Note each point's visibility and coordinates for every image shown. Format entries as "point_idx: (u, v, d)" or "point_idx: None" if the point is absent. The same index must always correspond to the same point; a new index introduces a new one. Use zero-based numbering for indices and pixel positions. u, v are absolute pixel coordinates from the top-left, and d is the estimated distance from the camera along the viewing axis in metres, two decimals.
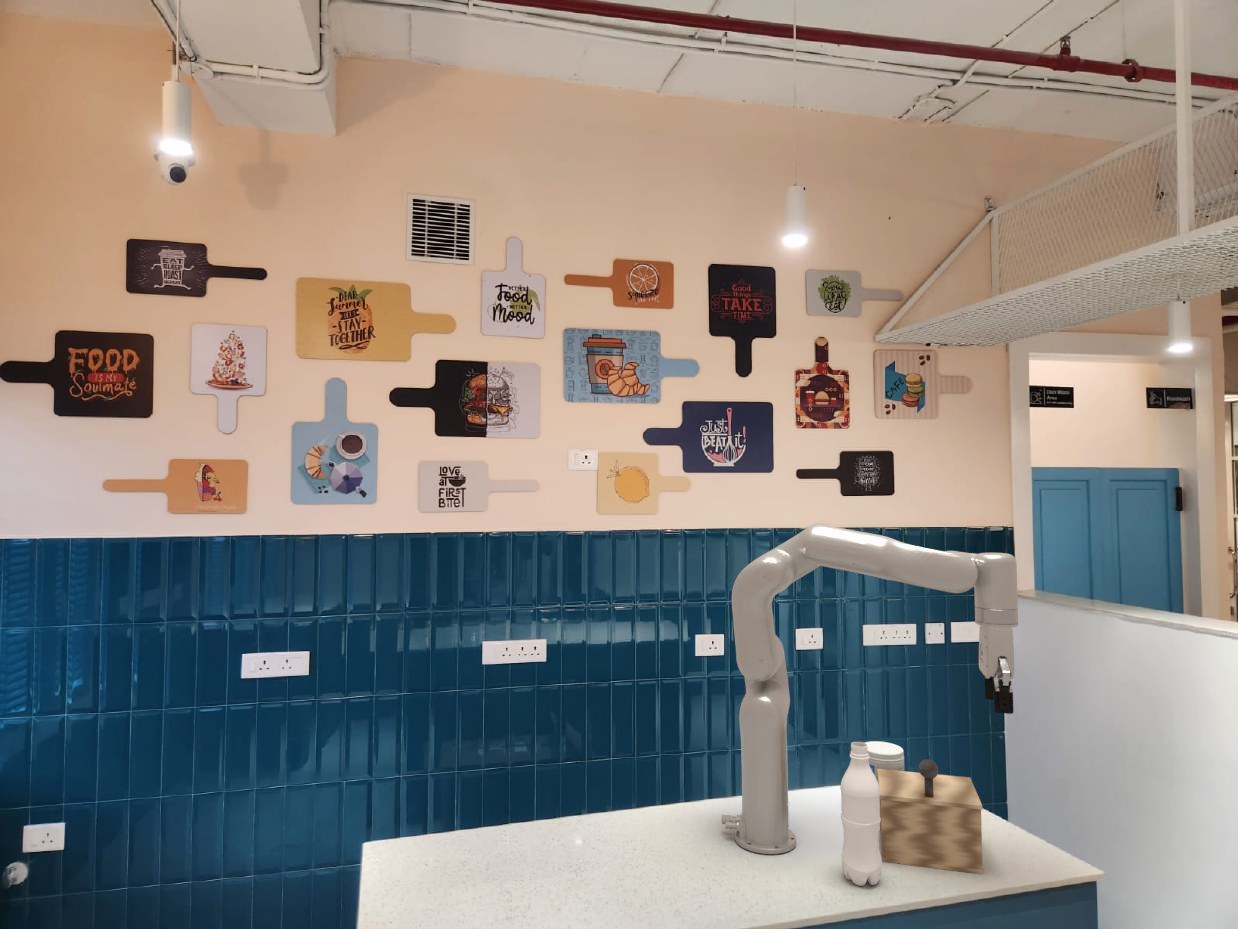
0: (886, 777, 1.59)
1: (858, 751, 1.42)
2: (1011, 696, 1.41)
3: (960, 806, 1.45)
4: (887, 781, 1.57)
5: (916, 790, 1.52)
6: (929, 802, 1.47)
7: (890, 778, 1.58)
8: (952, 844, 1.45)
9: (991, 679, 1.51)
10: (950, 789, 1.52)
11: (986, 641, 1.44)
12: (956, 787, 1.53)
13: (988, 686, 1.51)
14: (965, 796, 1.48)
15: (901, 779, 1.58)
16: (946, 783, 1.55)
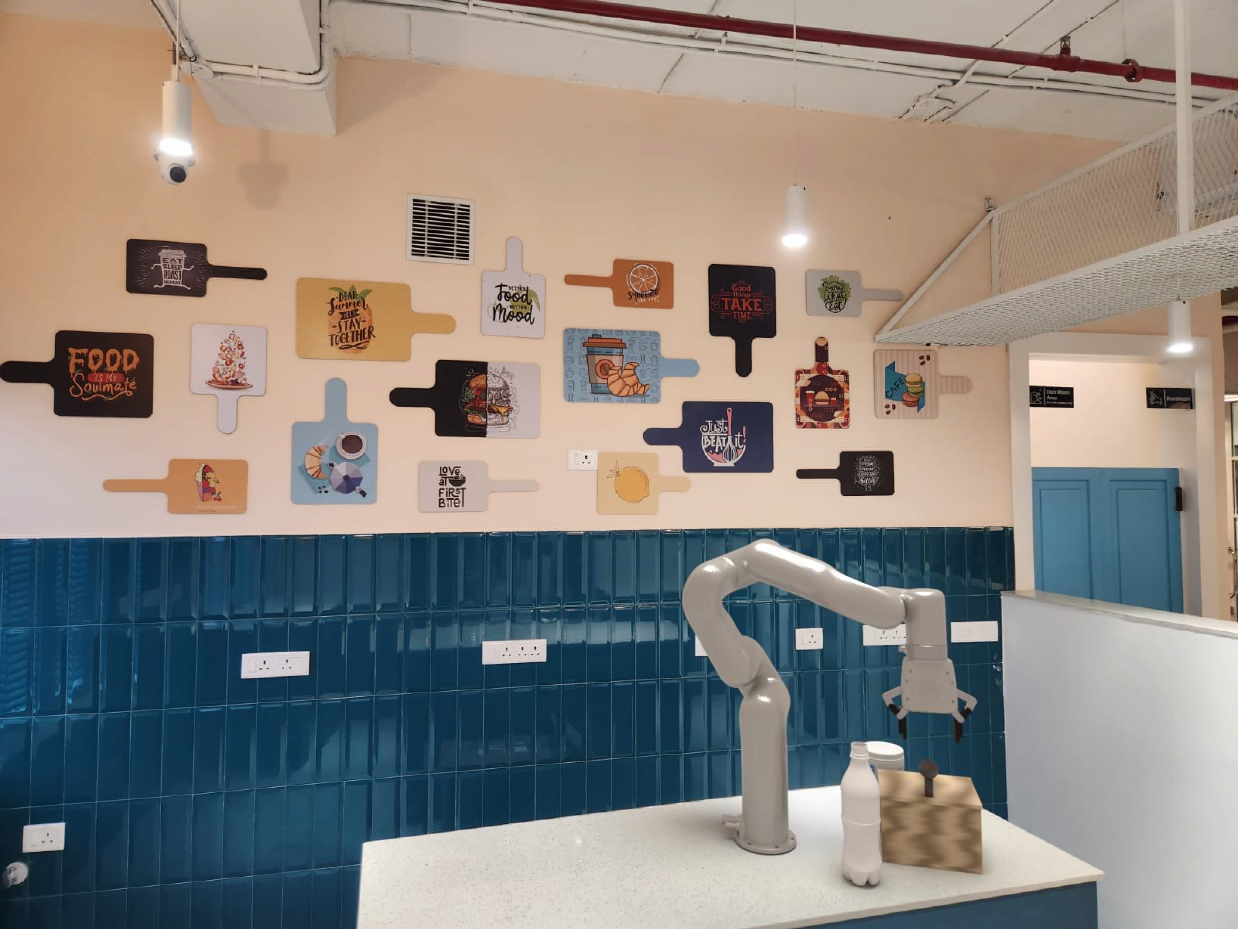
0: (886, 777, 1.59)
1: (859, 751, 1.42)
2: None
3: (960, 806, 1.45)
4: (887, 781, 1.57)
5: (916, 790, 1.52)
6: (929, 802, 1.47)
7: (890, 778, 1.58)
8: (952, 844, 1.45)
9: (904, 718, 1.50)
10: (950, 789, 1.52)
11: (951, 676, 1.46)
12: (956, 787, 1.53)
13: None
14: (965, 796, 1.48)
15: (901, 779, 1.58)
16: (946, 783, 1.55)
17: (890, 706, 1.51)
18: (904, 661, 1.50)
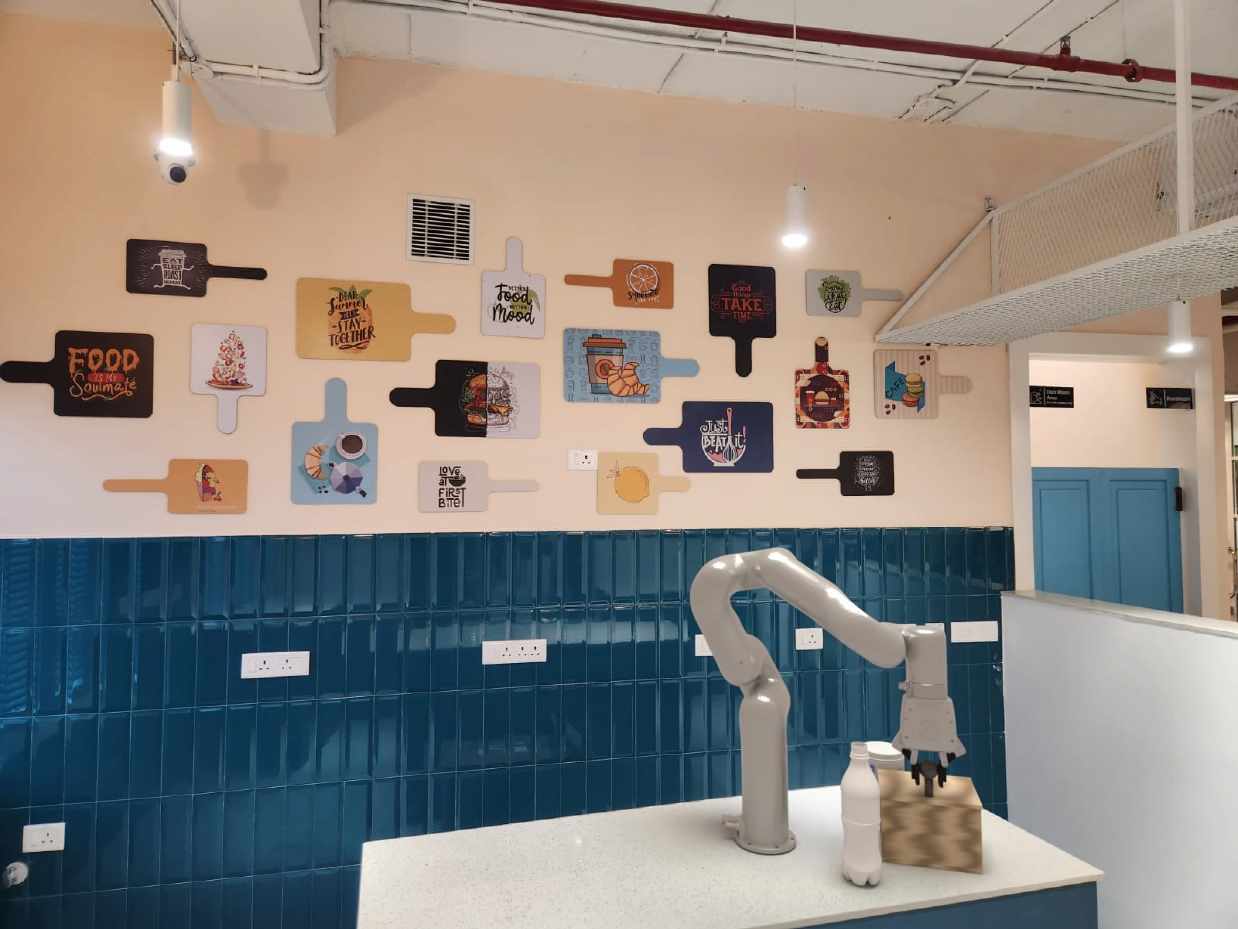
0: (886, 777, 1.59)
1: (858, 751, 1.42)
2: None
3: (960, 806, 1.45)
4: (887, 781, 1.57)
5: (916, 790, 1.52)
6: (929, 802, 1.47)
7: (890, 778, 1.58)
8: (952, 844, 1.45)
9: (918, 763, 1.49)
10: (950, 789, 1.52)
11: (950, 716, 1.46)
12: (956, 787, 1.53)
13: None
14: (965, 796, 1.48)
15: (901, 779, 1.58)
16: (946, 783, 1.55)
17: (903, 751, 1.50)
18: (904, 699, 1.49)
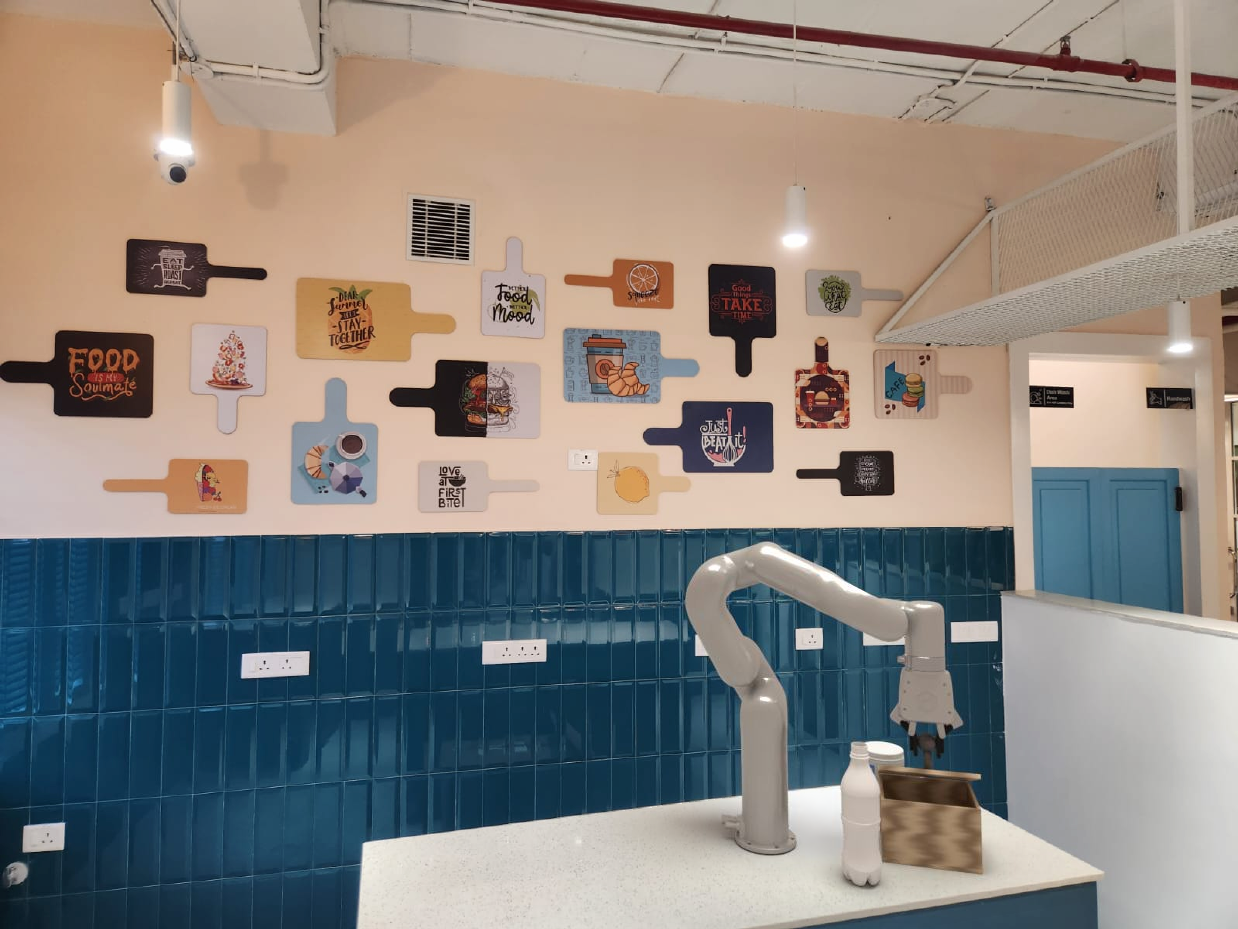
0: None
1: (858, 751, 1.42)
2: None
3: (959, 775, 1.46)
4: None
5: None
6: (928, 771, 1.48)
7: None
8: (952, 844, 1.45)
9: (916, 735, 1.53)
10: None
11: (948, 688, 1.49)
12: None
13: None
14: None
15: None
16: None
17: (902, 723, 1.53)
18: (902, 672, 1.53)
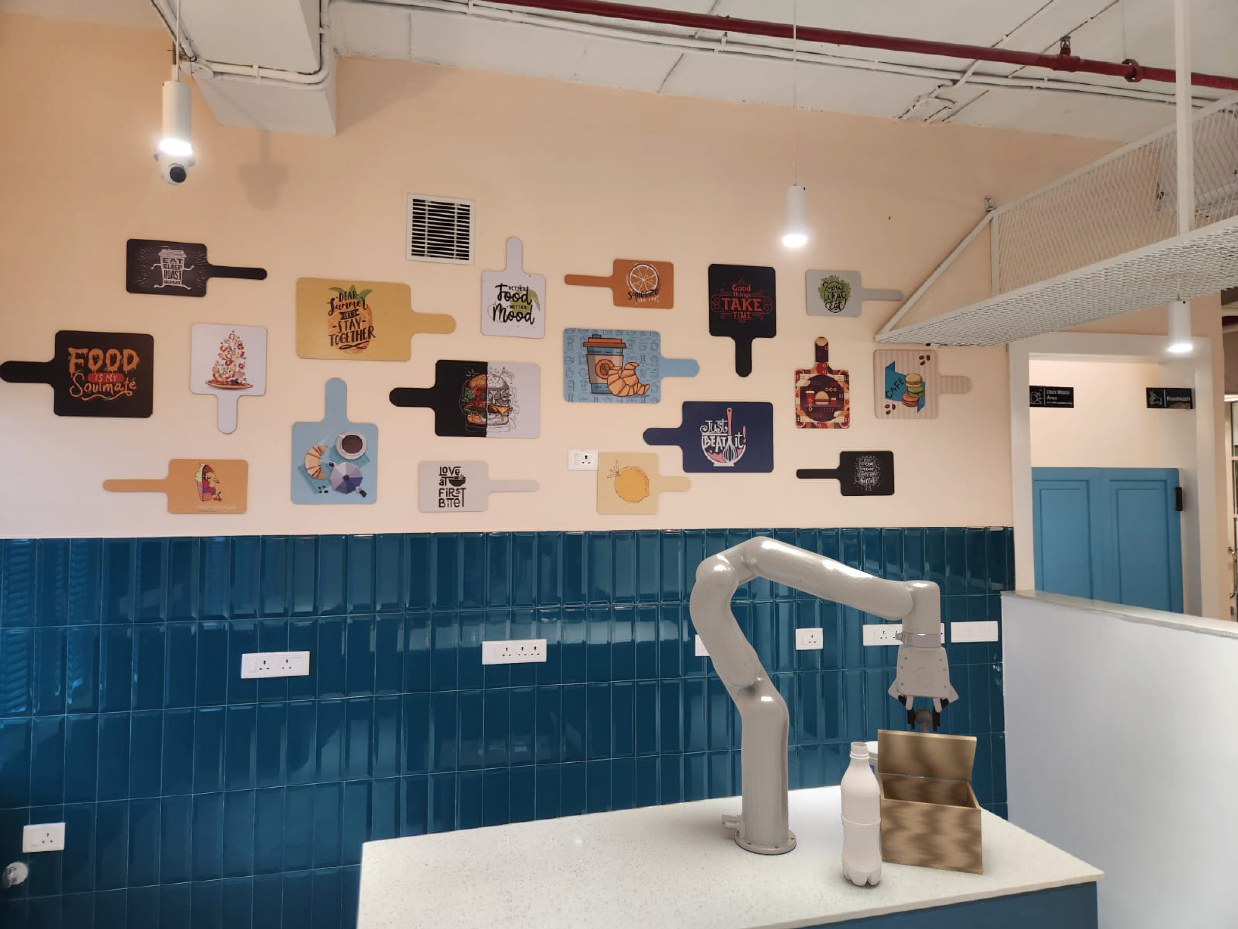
0: None
1: (859, 751, 1.42)
2: None
3: (955, 738, 1.50)
4: None
5: None
6: (925, 735, 1.52)
7: None
8: (952, 844, 1.45)
9: (913, 709, 1.59)
10: None
11: (944, 663, 1.55)
12: None
13: (914, 716, 1.58)
14: None
15: None
16: None
17: (899, 697, 1.59)
18: (900, 648, 1.59)
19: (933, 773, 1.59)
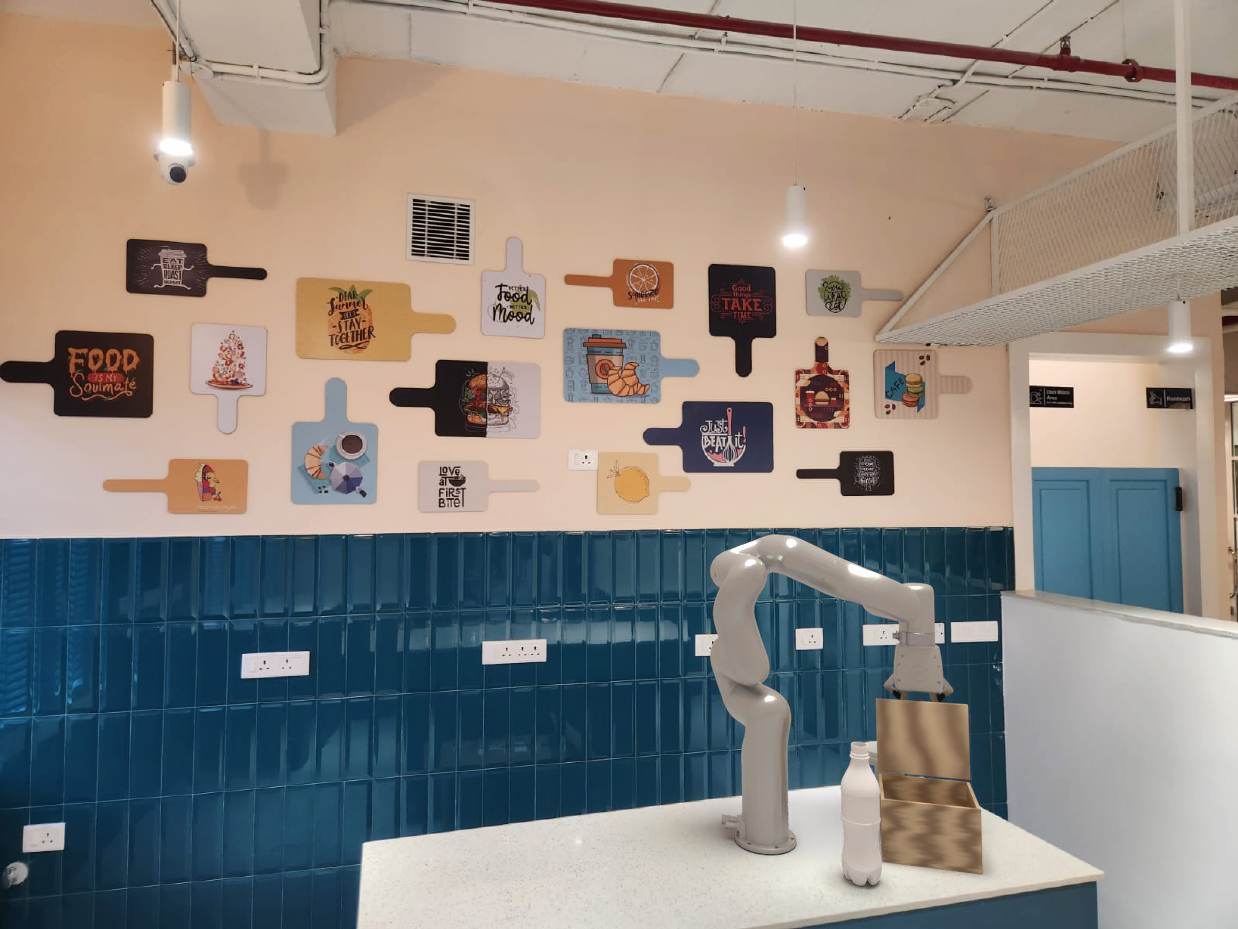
0: None
1: (859, 751, 1.42)
2: None
3: (948, 703, 1.61)
4: None
5: None
6: (920, 701, 1.63)
7: None
8: (952, 844, 1.45)
9: None
10: None
11: (938, 660, 1.66)
12: None
13: None
14: None
15: None
16: None
17: (894, 692, 1.70)
18: (897, 647, 1.70)
19: (932, 768, 1.60)
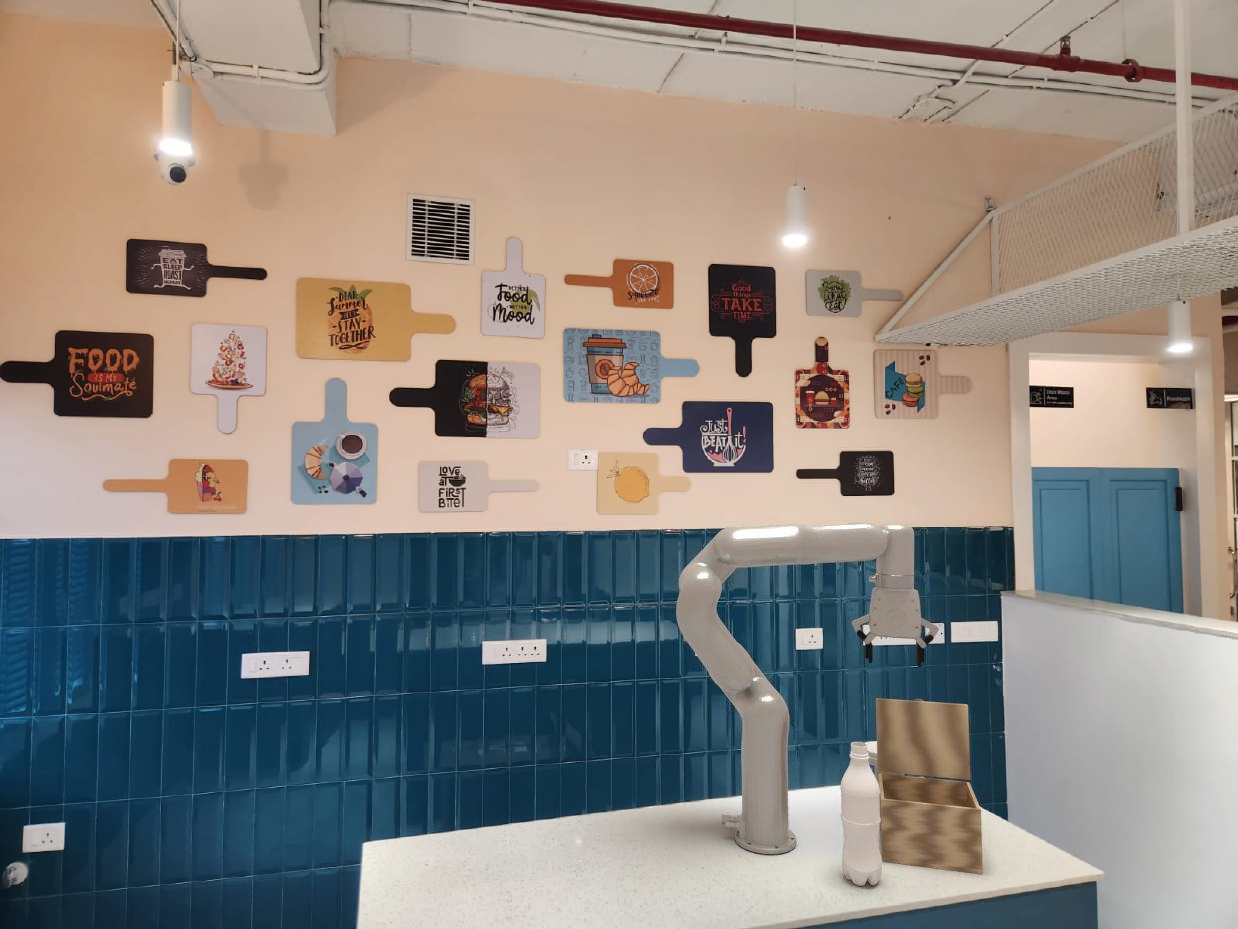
0: None
1: (858, 751, 1.42)
2: None
3: (948, 703, 1.61)
4: None
5: None
6: (920, 701, 1.63)
7: None
8: (952, 844, 1.45)
9: (871, 643, 1.61)
10: None
11: (916, 604, 1.57)
12: None
13: (872, 650, 1.60)
14: None
15: None
16: None
17: (858, 632, 1.61)
18: (874, 590, 1.60)
19: (932, 768, 1.60)
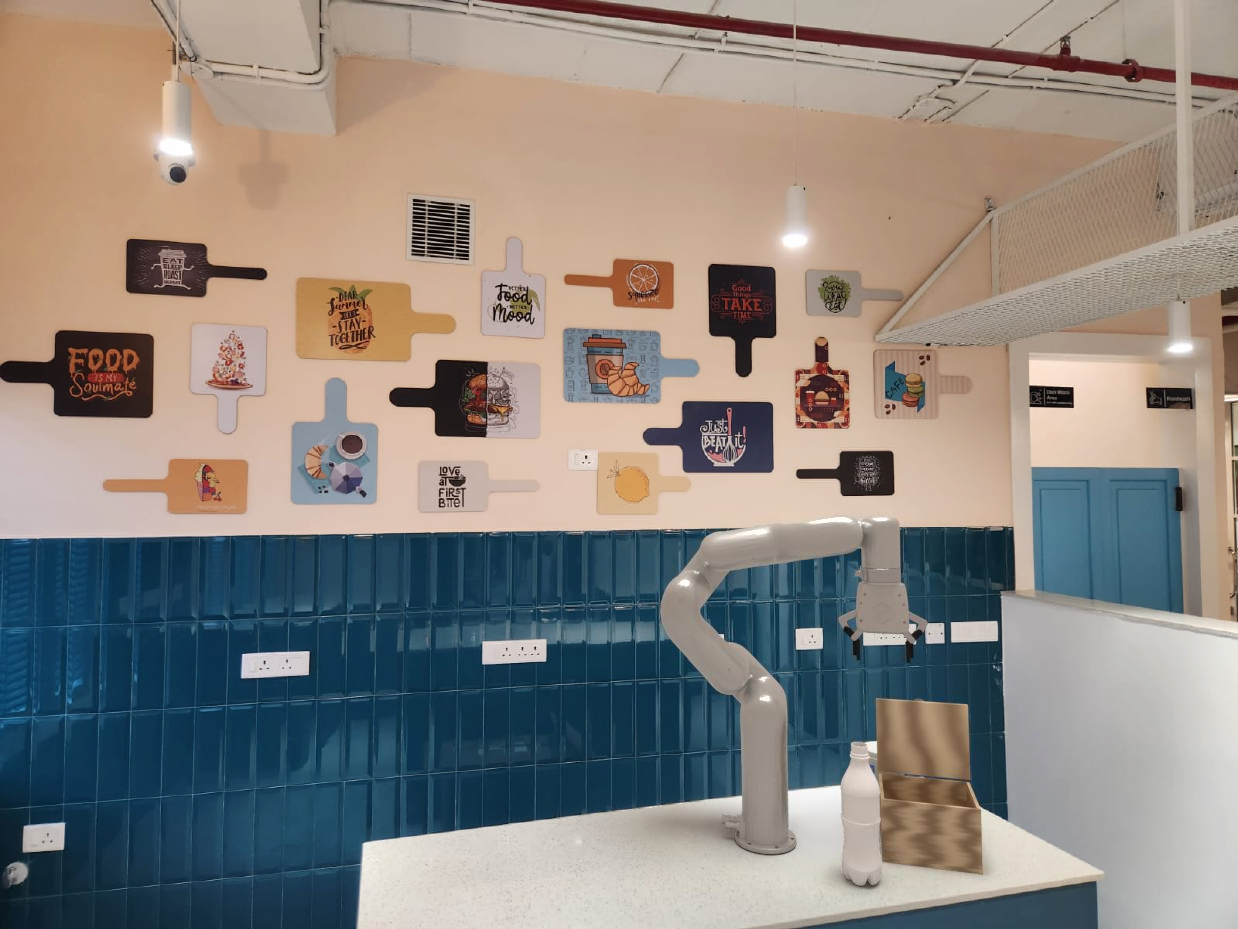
0: None
1: (859, 751, 1.42)
2: None
3: (948, 703, 1.61)
4: None
5: None
6: (920, 701, 1.63)
7: None
8: (952, 844, 1.45)
9: (859, 640, 1.56)
10: None
11: (903, 598, 1.52)
12: None
13: (859, 647, 1.55)
14: None
15: None
16: None
17: (845, 628, 1.56)
18: (859, 585, 1.55)
19: (932, 768, 1.60)
